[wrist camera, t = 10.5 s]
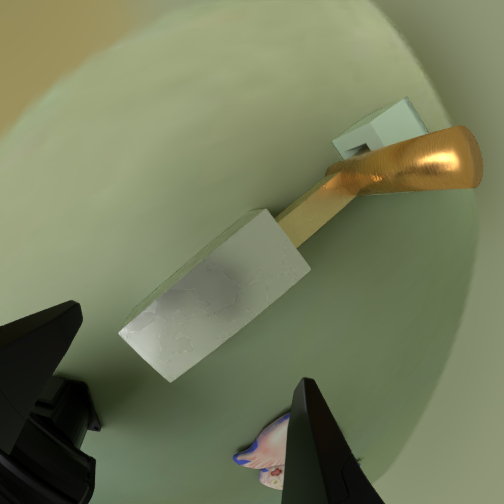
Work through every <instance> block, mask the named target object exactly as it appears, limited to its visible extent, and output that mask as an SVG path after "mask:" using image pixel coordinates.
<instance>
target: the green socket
mask: <svg viewBox="0 0 504 504" xmlns="http://www.w3.org/2000/svg"><path fill="white" fill-rule="evenodd" d="M425 134H429V132H428V131H427V129H426V127H425V125H424V124H423V122H422V120H421V118H420V117H419V115H418V113H417V112H416V110H415V109H414V107H413V105H412V104H411V102H410V101H409V99H408V98H407V96H406V97H404V98H402V99H400V100H398V101H396V102H394V103H392V104H390V105H388V106H386V107H384V108H382V109H380V110H378V111H376V112H374V113H372V114H370V115H368V116H366V117H365V118H363V119H362V120H361V121H359V122H358V123H356V124H355V125H353V126H352V127H351V128H349V129H348V130H346V131H345V132H344V133H342V134H341V135H339V136H338V137H337V138H335V139H334V140H332V143H333V144H334V146H335V147H336V149H337V150H338V151H339V153H340V154H341V156H342V157H343V159H344V160H345V159H348V158H350V157H351V156H352V155H353V154H355V153H356V152H357V151H358V150H360V149H361V148H362V147H363V146H365V145H366V144H367V145H368V147H369V148H370V150H371V151H372V150H376V149H379V148H382V147H385V146H388V145H391V144H395V143H398V142H401V141H405V140H408V139H411V138H415V137H418V136H422V135H425ZM399 193H410V192H399ZM387 194H397V193H387ZM375 195H384V194H375ZM367 196H372V195H367Z"/></svg>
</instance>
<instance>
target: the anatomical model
mask: <svg viewBox="0 0 504 504" xmlns="http://www.w3.org/2000/svg"><path fill="white" fill-rule="evenodd" d="M289 417H290V413H287V414H285V415H283V416H281V417H280V418H278V419H277V420H275V421H274V422H273V423H271V424H270V425H269V426H267V427H266V428H265V429H264V430H263V431H262V432H261V433H260V434H259V436H258V437H257V439H256V440H255V441H254V443H253V444H252V446H251V447H250V448H248V449H247V450H245V451H242V452H239V453H237V454H235V455H234V456H233V460H234V461H235V462H236V463H237V464H239V465H242V466H245V467H249V468H255V469H262V470H261V471H260V474H259V480H260V482H261V483H262V484H264V485H266V486H268V487H271V488H275V489H279V490H283V480H284V468H285V455H286V440H287V428H288V422H289ZM358 464H359V463H358ZM359 466H360V464H359Z"/></svg>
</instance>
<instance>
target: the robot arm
mask: <svg viewBox="0 0 504 504" xmlns="http://www.w3.org/2000/svg"><path fill="white" fill-rule="evenodd" d="M82 322H83V316H82V311H81V306H80V304H79V303H78V302H76V301H73V300H70V301H67V302H64V303H61V304H59V305H56V306H53V307H50V308H48V309H45V310H42V311H40V312H37V313H34V314H32V315H29V316H26V317H24V318H21V319H18V320H16V321H13V322H10V323H8V324H5V325H4V326H3V325H2V326H0V504H88V503H89V501H90V500H91V497H92V495H93V492H94V488H95V468H96V459H94V458H93V457H91V456H88V455H87V454H85V453H84V452H82V451H81V450H80V447H81V445H82V442H83V440H84V437H85V434H86V432H87V430H92V431H100V430H101V425H100V422H99V419H98V417H97V414H96V411H95V408H94V405H93V402H92V399H91V396H90V393H89V389H88V386H87V385H86V384H85V383H84V382H79V381H73V380H67V379H63V378H57V377H52V374H53V372H54V371H55V369H56V368H57V366H58V365H59V363H60V361H61V360H62V358H63V357H64V355H65V354H66V352H67V350H68V349H69V347H70V345H71V343H72V341H73V339H74V337H75V335H76V333H77V332H78V330H79V328H80V326H81V324H82ZM82 386H83V387H84V388H82ZM281 504H385V503H384V502H383V500H382V499H381V497H380V496H379V495H378V493H377V492H376V491H375V489H374V488H373V486H372V485H371V483H370V482H369V481H368V479H367V477H366V476H365V474H364V473H363V471H362V470H361V468H360V466H359V464H358V463H357V461H356V459H355V457H354V455H353V453H352V451H351V449H350V448H349V446H348V444H347V442H346V440H345V438H344V436H343V434H342V432H341V430H340V428H339V426H338V425H337V423H336V421H335V419H334V417H333V415H332V413H331V411H330V409H329V407H328V405H327V403H326V401H325V399H324V398H323V396H322V394H321V392H320V390H319V388H318V386H317V384H316V382H315V380H314V379H312V378H306V377H303V378H302V379H301V381H300V382H299V384H298V385H297V387H296V389H295V391H294V394H293V400H292V406H291V411H290V417H289V422H288V428H287V440H286V455H285V468H284V480H283V491H282V502H281Z"/></svg>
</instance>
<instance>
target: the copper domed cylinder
mask: <svg viewBox="0 0 504 504" xmlns="http://www.w3.org/2000/svg"><path fill="white" fill-rule="evenodd" d="M482 175H483V161H482V155H481V151H480V148H479V145H478V143H477V141H476V139H475V137H474V136H473V134H472V133H471V131H470V130H469V129H468V128H466V127H465V126H462V125H459V126H455V127H451V128H447V129H443V130H440V131H436V132H432V133H429V134H425V135H422V136H418V137H415V138H411V139H408V140H405V141H401V142H398V143H395V144H391V145H388V146H385V147H382V148H379V149H376V150H372V151H371V150H370V148H369V147H368V145H367V144H366V145H365V146H363V147H362V148H361V149H360V150H358V151H357V152H356V153H355V154H353V155H352V156H351V157H350V158H348V159H345V160H343V161H340V162H337V163H334V164H332V165H331V166H329V168H328V169H327V171H326V174H325V178H323V179H322V180H321V181H320V182H318V183H317V184H316V185H315V186H313V187H312V188H311V189H310V190H308V191H307V192H306V193H305V194H303V195H302V196H301V197H300V198H298V199H297V200H296V201H295V202H294V203H292V204H291V205H290V206H289V207H287V208H286V209H285V210H284V211H282V212H281V213H280V214H279V215H278V216H276V217H275V218H274V219H275V221H276V222H277V223H278V225H279V226H280V227H281V229H282V230H283V231H284V233H285V234H286V235H287V237H288V238H289V239H290V241H291V242H292V243H293V245H294V246H295V247H296V248H298V247H299V246H300V245H301V244H302V243H303V242H304V241H306V240H307V239H308V238H309V237H310V236H311V235H313V234H314V233H315V232H316V231H317V230H318V229H319V228H321V227H322V226H323V225H324V224H325V223H326V222H328V221H329V220H330V219H331V218H332V217H333V216H334V215H335V214H337V213H338V212H339V211H340V210H341V209H342V208H343V207H345V206H346V205H347V204H348V203H349V202H350V201H351V200H352V199H354V198H355V197H356V196H364V195H375V194H387V193H399V192H412V191H427V190H443V189H464V188H476V187H477V186H478V185H479V184H480V182H481V179H482Z"/></svg>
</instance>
